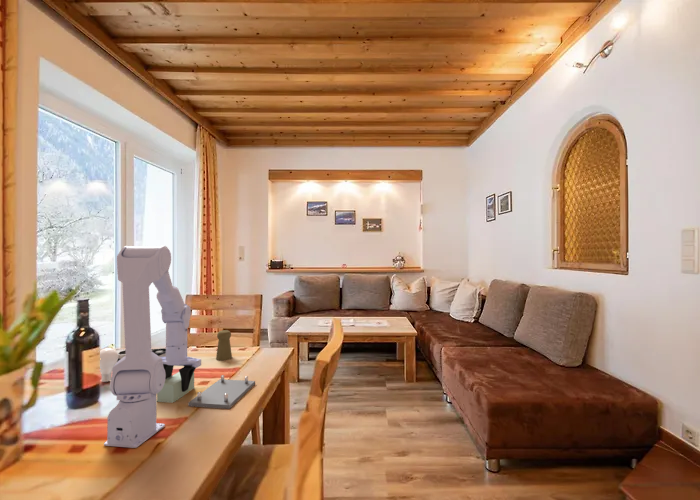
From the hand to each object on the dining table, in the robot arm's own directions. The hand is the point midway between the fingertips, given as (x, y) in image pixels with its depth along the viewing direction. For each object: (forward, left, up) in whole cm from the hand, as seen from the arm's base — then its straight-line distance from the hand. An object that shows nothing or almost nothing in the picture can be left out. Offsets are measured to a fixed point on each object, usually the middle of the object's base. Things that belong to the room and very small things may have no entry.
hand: (176, 389), depth 99 cm
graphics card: (+30, +35, -2) cm, 46 cm away
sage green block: (0, 0, -1) cm, 1 cm away
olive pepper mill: (+34, +3, -2) cm, 34 cm away
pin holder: (+2, -14, -1) cm, 14 cm away
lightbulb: (+6, +29, -2) cm, 30 cm away
